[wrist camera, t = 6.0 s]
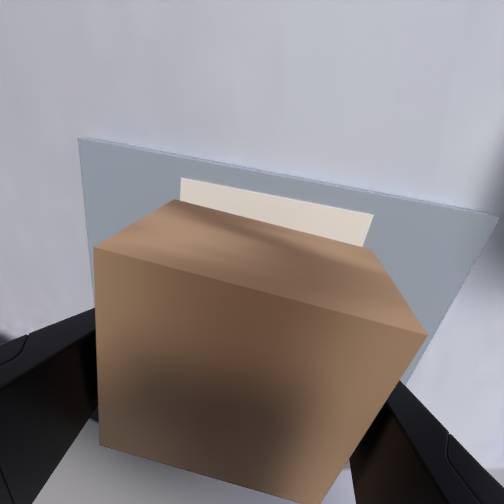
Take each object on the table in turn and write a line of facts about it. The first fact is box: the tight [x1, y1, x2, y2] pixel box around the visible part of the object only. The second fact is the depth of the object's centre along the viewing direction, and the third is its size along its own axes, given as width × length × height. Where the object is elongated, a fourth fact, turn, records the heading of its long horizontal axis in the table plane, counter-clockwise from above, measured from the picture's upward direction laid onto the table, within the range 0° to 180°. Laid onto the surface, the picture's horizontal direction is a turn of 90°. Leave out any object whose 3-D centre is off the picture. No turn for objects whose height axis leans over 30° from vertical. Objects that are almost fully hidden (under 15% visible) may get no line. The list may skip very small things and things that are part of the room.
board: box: [78, 138, 500, 385], centre depth 12 cm, size 16×9×1 cm, turn 81°
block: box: [93, 199, 428, 504], centre depth 8 cm, size 6×6×4 cm
